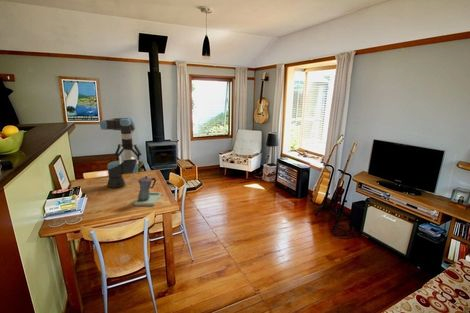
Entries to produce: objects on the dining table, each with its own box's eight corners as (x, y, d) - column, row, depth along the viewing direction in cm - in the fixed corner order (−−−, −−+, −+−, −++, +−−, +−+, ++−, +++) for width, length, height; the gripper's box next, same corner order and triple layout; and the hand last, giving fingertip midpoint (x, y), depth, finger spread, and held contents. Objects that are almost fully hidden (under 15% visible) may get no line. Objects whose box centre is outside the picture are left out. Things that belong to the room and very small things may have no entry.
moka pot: (132, 196, 198) (136, 174, 193) (149, 194, 210) (153, 173, 205) (137, 202, 192) (141, 179, 188) (155, 199, 204) (159, 177, 199)
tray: (142, 194, 211) (142, 192, 210) (161, 194, 212) (161, 192, 211) (134, 205, 191) (133, 202, 190) (154, 205, 192) (154, 203, 191)
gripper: (108, 139, 186) (111, 165, 192) (141, 139, 188) (143, 165, 195) (112, 137, 193) (115, 162, 199) (144, 137, 196) (146, 162, 202)
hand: (129, 163), depth 197 cm, fingers open, 13 cm apart
